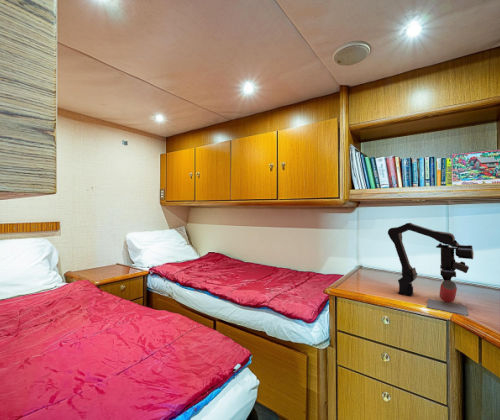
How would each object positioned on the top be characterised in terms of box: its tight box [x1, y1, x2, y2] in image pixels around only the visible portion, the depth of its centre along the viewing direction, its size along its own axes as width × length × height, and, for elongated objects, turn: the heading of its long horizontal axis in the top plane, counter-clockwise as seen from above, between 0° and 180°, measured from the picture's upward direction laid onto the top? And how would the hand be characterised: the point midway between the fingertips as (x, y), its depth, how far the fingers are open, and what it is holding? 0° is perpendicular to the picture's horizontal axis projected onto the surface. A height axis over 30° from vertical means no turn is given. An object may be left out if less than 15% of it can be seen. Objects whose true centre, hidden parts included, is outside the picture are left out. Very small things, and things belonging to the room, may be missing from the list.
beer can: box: [439, 280, 458, 303], centre depth 132 cm, size 7×7×12 cm
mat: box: [426, 298, 469, 317], centre depth 129 cm, size 16×14×1 cm
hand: (447, 286), depth 134 cm, fingers closed
